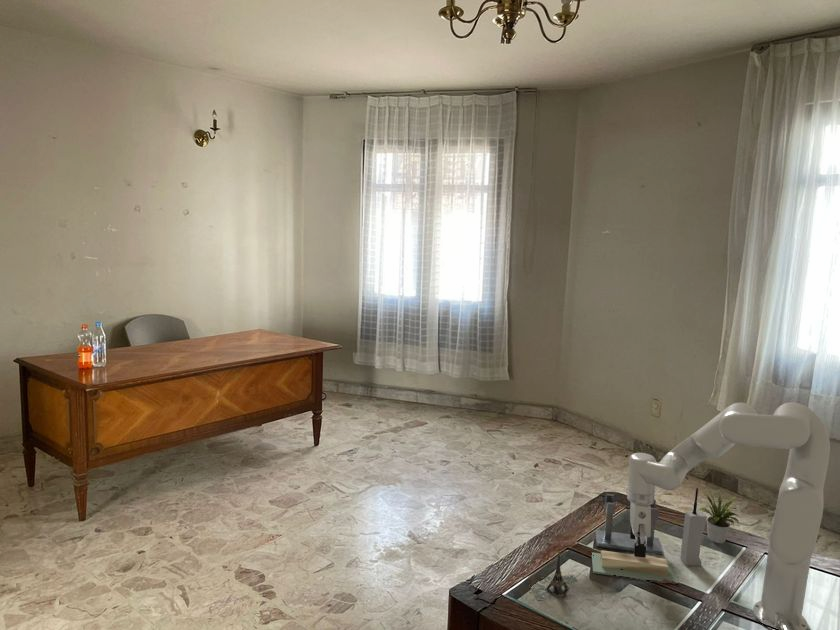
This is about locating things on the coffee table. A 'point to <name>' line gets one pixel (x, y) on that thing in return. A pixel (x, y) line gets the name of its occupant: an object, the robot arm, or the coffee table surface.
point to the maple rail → (634, 563)
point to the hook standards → (624, 540)
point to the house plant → (719, 519)
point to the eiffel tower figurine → (553, 584)
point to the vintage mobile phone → (692, 535)
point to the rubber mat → (627, 573)
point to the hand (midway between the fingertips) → (637, 547)
